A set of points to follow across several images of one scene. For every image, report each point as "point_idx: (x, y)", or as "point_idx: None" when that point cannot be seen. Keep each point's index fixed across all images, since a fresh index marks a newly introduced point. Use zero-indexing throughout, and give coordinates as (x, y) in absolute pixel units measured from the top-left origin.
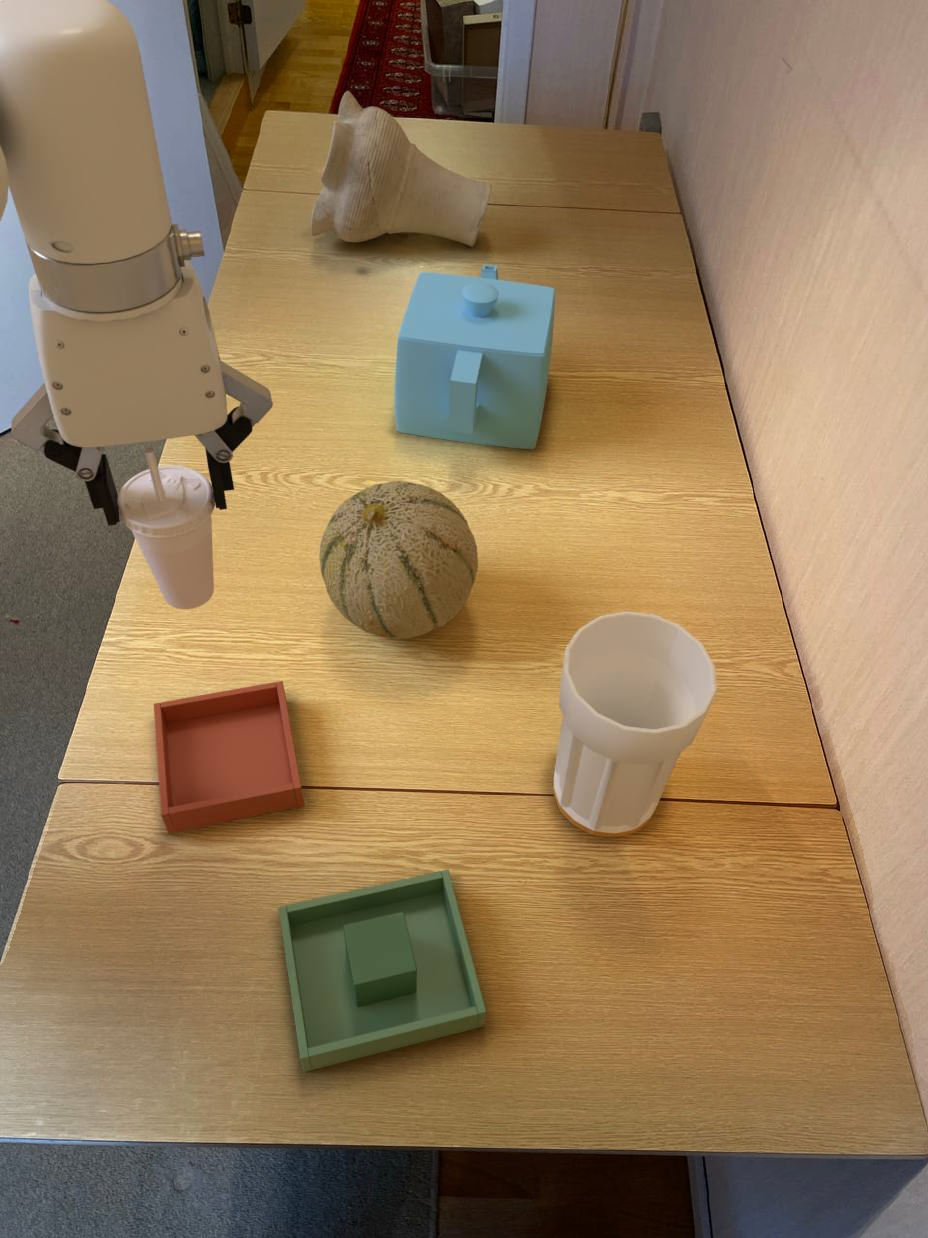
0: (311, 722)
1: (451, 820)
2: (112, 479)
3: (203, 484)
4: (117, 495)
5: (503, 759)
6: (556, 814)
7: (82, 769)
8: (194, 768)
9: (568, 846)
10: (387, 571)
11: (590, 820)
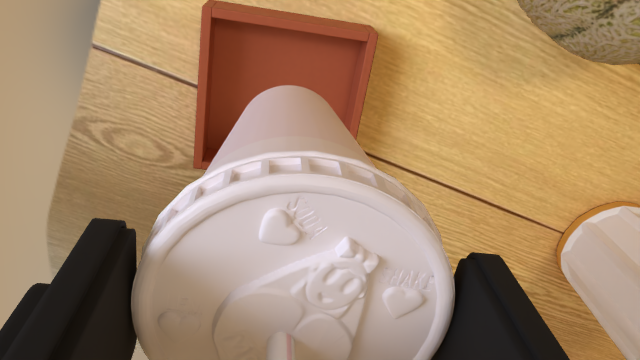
0: (387, 69)
1: (464, 225)
2: (108, 298)
3: (431, 301)
4: (133, 239)
5: (547, 185)
6: (551, 249)
7: (106, 33)
8: (239, 89)
9: (539, 276)
10: (627, 39)
11: (573, 281)
